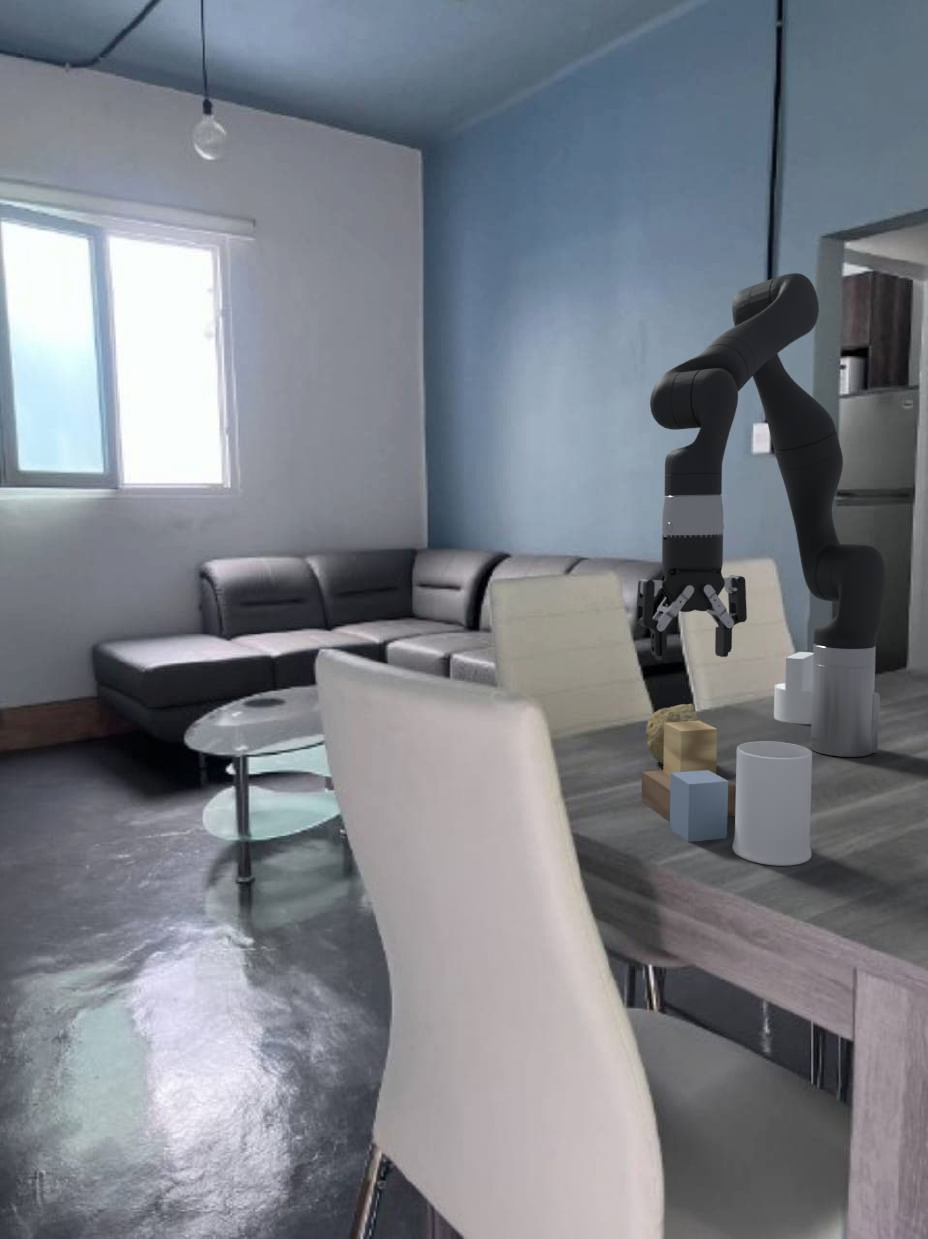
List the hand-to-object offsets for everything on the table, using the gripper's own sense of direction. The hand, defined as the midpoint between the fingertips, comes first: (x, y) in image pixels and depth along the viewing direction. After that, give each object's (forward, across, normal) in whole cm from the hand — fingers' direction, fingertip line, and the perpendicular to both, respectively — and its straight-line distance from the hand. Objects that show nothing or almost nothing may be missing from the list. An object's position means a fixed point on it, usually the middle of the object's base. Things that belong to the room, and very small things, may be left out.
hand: (691, 657), depth 120 cm
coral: (+20, -8, -21) cm, 30 cm away
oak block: (+16, 0, 0) cm, 16 cm away
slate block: (+20, +3, +9) cm, 22 cm away
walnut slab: (+20, 0, 0) cm, 20 cm away
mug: (+20, -2, +16) cm, 26 cm away
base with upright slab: (+20, -44, -44) cm, 65 cm away
